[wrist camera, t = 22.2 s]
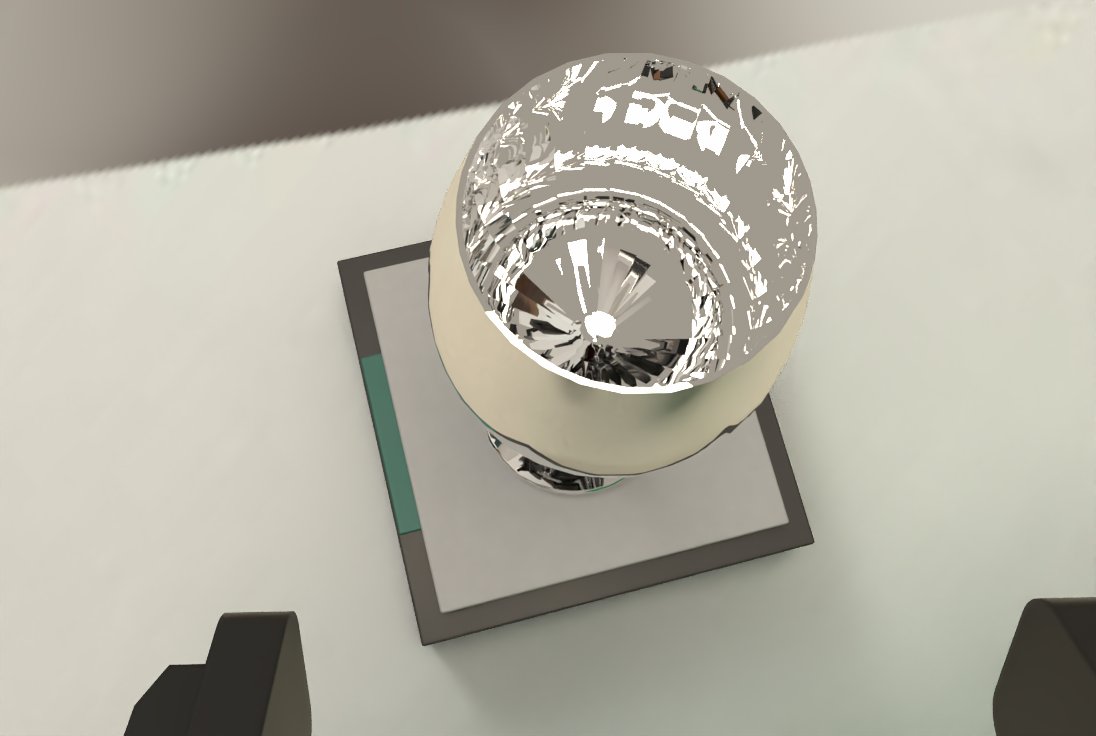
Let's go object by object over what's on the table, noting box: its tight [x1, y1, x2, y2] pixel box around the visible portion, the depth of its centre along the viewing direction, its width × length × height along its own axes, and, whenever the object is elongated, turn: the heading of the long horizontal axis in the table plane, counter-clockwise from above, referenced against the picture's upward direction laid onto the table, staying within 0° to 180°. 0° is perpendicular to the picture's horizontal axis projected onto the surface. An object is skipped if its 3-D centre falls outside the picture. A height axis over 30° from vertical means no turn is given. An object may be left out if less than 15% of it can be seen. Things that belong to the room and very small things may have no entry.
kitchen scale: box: [337, 240, 814, 646], centre depth 26 cm, size 10×10×3 cm
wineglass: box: [426, 53, 817, 495], centre depth 19 cm, size 6×6×12 cm
